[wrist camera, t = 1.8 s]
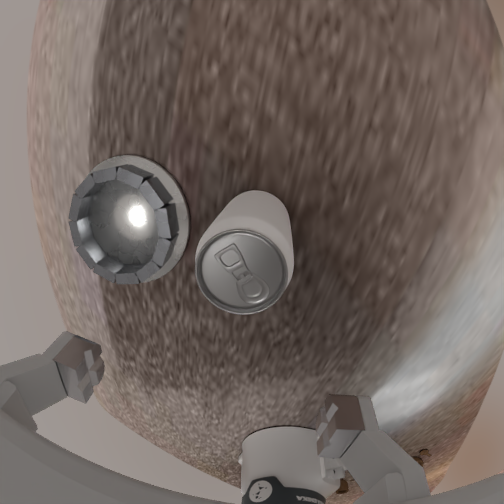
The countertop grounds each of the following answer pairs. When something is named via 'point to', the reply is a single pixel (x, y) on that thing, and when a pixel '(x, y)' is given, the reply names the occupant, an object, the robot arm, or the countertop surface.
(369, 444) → the robot arm
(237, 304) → the can
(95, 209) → the notched rim bowl
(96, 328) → the countertop surface
